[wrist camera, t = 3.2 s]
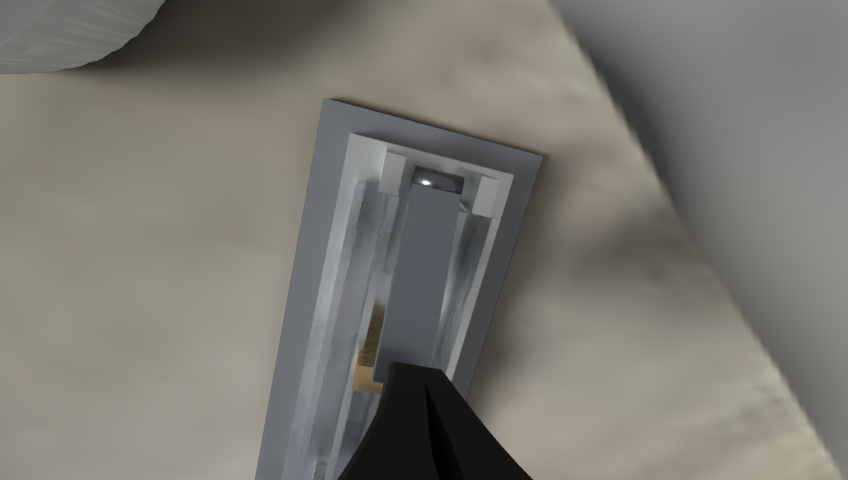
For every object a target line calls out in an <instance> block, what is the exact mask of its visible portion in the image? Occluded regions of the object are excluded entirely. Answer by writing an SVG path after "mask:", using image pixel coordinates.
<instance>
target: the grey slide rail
mask: <svg viewBox="0 0 848 480" xmlns="http://www.w3.org/2000/svg"><path fill="white" fill-rule="evenodd" d="M415 165H418V166H422V167H426V168H430V169H434V170H439V171H443V172H447V173H451V174H455V175H459V176H463V177H464V187H463V191H462V194H461V200H460V206H459V212H458V218H457V223H456V229H455V235H454V241H453V246H452V252H451V258H450V263H449V269H448V275H447V281H446V286H445V292H444V298H443V304H442V309H441V315H440V321H439V327H438V332H437V338H436V344H435V349H434V355H433V361H432V367H431V368H436V369H442V371H443V372H444V373H445V374H446V376H447V377H448V378H449V380H450V381H452V378H453V375H454V372H455V368H456V365H457V362H458V358H459V355H460V352H461V348H462V345H463V342H464V339H465V335H466V332H467V329H468V325H469V322H470V319H471V316H472V312H473V309H474V306H475V302H476V299H477V296H478V292H479V289H480V286H481V283H482V279H483V276H484V273H485V269H486V266H487V263H488V259H489V256H490V253H491V250H492V246H493V243H494V240H495V236H496V233H497V230H498V227H499V223H500V220H501V217H502V213H503V210H504V207H505V203H506V200H507V197H508V194H509V190H510V187H511V184H512V180H513V177H514V175H512V174H509V173H506V172H502V171H499V170H495V169H491V168H487V167H483V166H479V165H475V164H471V163H467V162H463V161H459V160H456V159H452V158H448V157H444V156H440V155H436V154H432V153H428V152H424V151H420V150H416V149H413V148H409V147H405V146H401V145H397V144H393V143H389V142H385V141H381V140H377V139H373V138H370V137H366V136H362V135H358V134H354V133H350V136H349V141H348V146H347V152H346V157H345V162H344V167H343V172H342V177H341V182H340V187H339V192H338V197H337V202H336V207H335V212H334V217H333V222H332V227H331V232H330V237H329V242H328V247H327V252H326V257H325V262H324V267H323V272H322V277H321V282H320V287H319V292H318V297H317V302H316V307H315V312H314V317H313V322H312V327H311V332H310V337H309V342H308V347H307V352H306V357H305V362H304V367H303V372H302V377H301V382H300V387H299V392H298V397H297V402H296V407H295V412H294V417H293V422H292V427H291V432H290V437H289V442H288V447H287V452H286V457H285V462H284V467H283V473H282V478H281V480H337V479H338V477H339V476H340V475H341V473H342V472H343V470H344V469H345V467H346V466H347V464H348V462H349V461H350V459H351V457H352V454H353V453H355V451H356V450H357V448H358V446H359V445H360V443H361V441H362V439H363V438H364V436H365V434H366V432H367V430H368V428H369V426H370V424H371V422H372V420H373V418H374V416H375V414H376V411H377V407H378V403H379V399H380V395H381V392H382V388H383V384H384V383H378V382H373V381H372V373H373V368H374V363H375V358H376V353H377V349H378V344H379V339H380V334H381V329H382V324H383V319H384V314H385V309H386V304H387V299H388V294H389V289H390V284H391V279H392V274H393V269H394V264H395V259H396V255H397V250H398V245H399V240H400V235H401V230H402V225H403V220H404V215H405V210H406V205H407V200H408V195H409V190H410V184H411V179H412V175H413V171H414V168H415Z"/></svg>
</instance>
